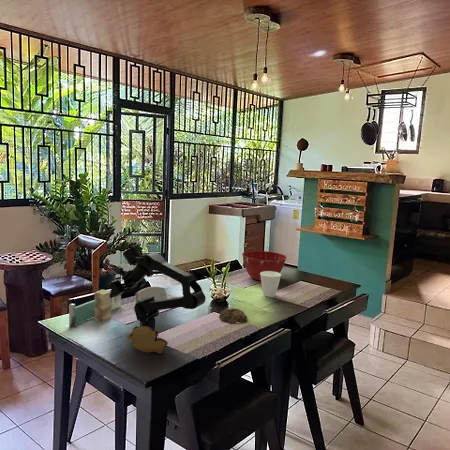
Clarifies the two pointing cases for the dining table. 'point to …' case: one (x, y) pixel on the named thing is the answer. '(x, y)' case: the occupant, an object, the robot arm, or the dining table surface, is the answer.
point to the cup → (270, 282)
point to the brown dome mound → (233, 316)
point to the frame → (115, 303)
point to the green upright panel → (85, 311)
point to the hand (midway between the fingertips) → (117, 294)
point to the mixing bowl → (262, 262)
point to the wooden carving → (147, 340)
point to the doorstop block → (102, 306)
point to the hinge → (151, 293)
